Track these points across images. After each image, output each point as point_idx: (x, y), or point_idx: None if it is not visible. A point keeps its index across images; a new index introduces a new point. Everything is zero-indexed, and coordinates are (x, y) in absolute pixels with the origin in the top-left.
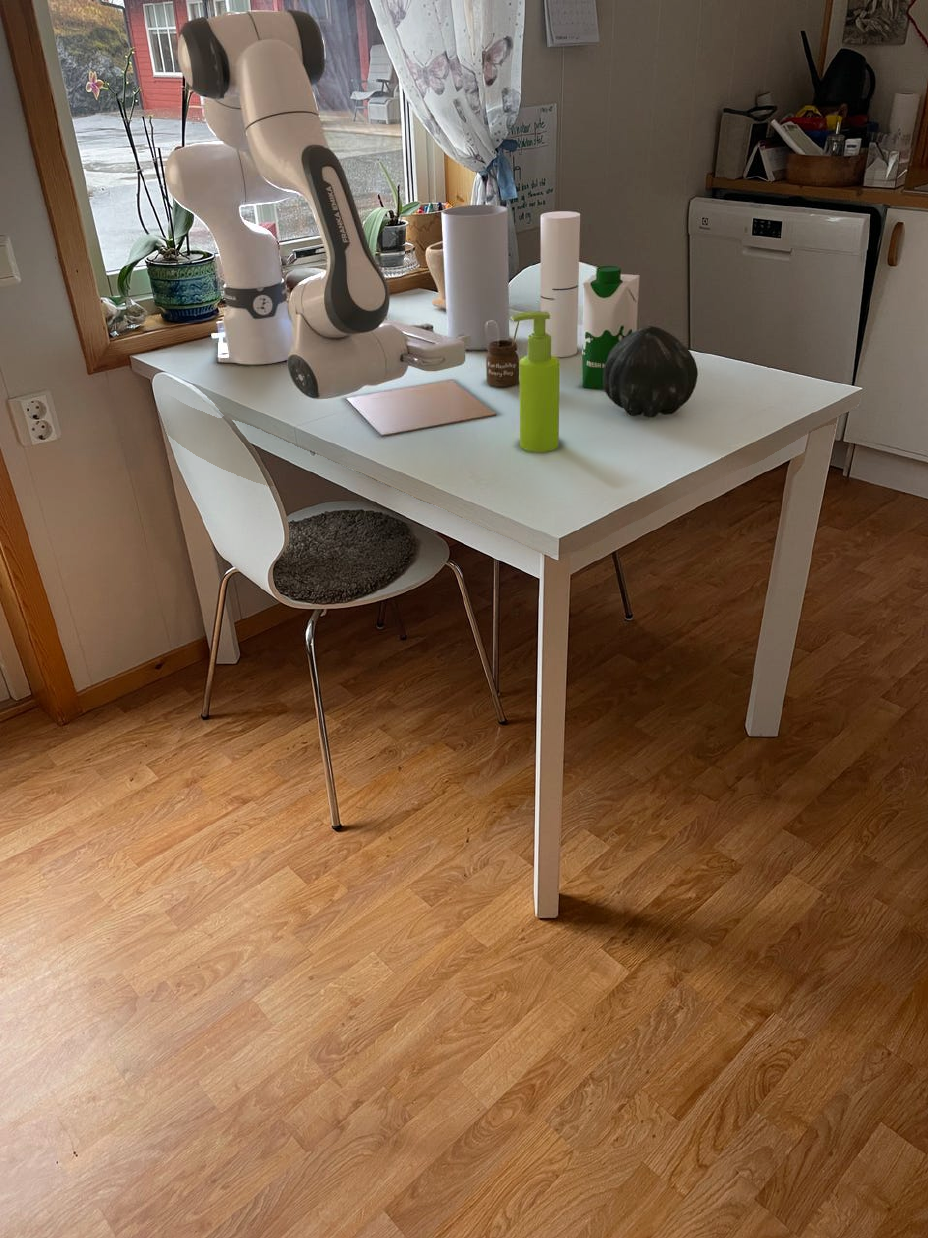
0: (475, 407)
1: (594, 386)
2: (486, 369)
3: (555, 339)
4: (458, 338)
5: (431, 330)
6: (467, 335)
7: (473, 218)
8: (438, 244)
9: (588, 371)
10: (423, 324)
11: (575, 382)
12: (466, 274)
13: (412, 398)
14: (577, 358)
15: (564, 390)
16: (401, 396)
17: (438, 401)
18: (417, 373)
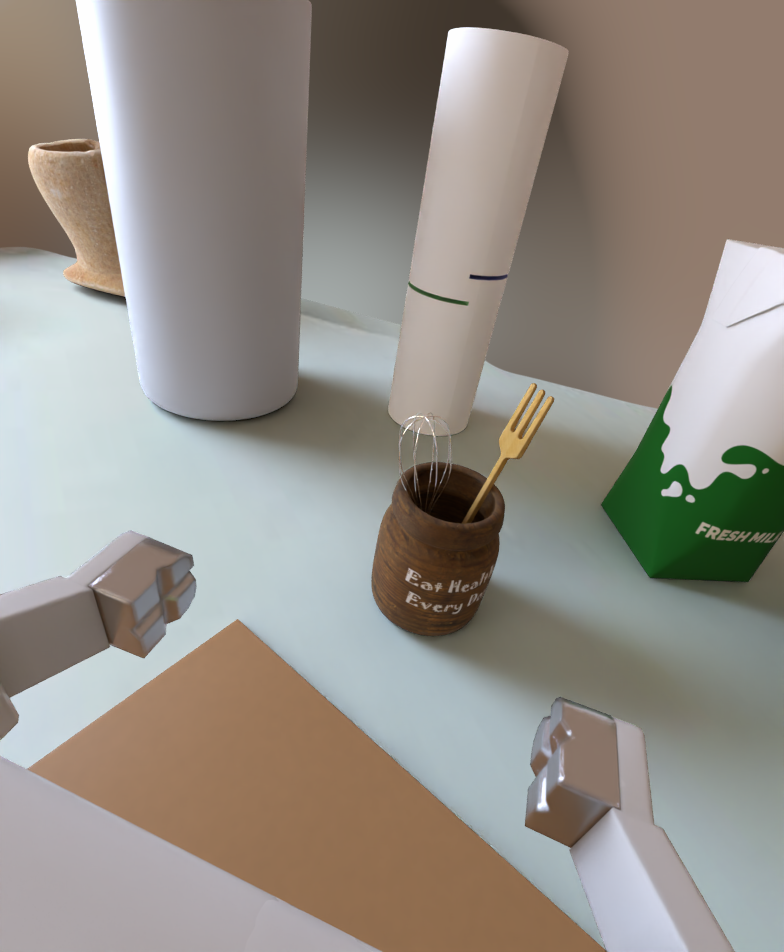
0: (510, 944)
1: (685, 576)
2: (387, 582)
3: (449, 399)
4: (691, 921)
5: (180, 585)
6: (639, 743)
7: None
8: (59, 145)
9: (695, 548)
10: (102, 562)
11: (602, 552)
12: (201, 208)
13: None
14: (488, 437)
15: (630, 610)
16: None
17: None
18: None
